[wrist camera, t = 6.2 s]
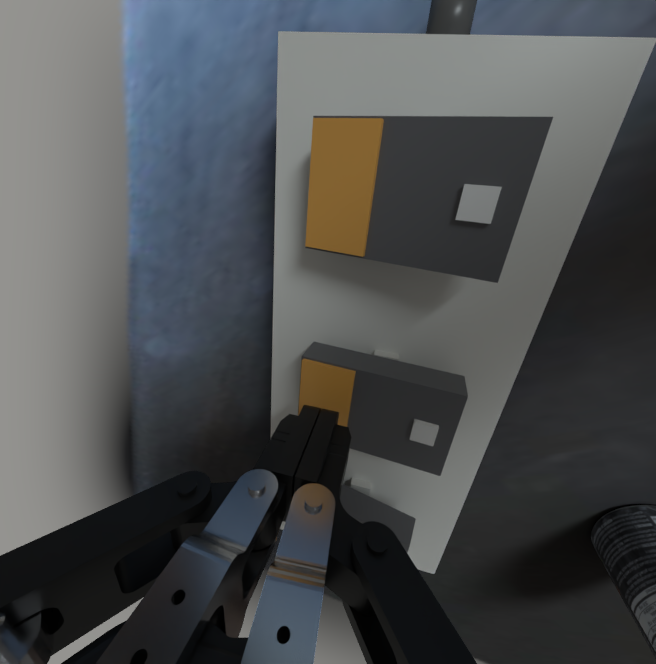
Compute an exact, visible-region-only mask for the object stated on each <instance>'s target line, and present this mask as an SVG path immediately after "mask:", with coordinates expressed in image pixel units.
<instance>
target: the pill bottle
mask: <svg viewBox="0 0 656 664" xmlns="http://www.w3.org/2000/svg"><path fill="white" fill-rule="evenodd" d="M591 541H592V543H593V546H594V548H595V550H596V552H597V554H598V555H599V557H600V559H601V561H602V563H603V564H604V566H605V568H606V570H607V572H608V574H609V576H610V577H611V579H612V581H613V583H614V585H615V586H616V588H617V590H618V592H619V593H620V595H621V597H622V599H623V601H624V603H625V604H626V606H627V608H628V610H629V612H630V613H631V615H632V617H633V619H634V620H635V622H636V624H637V626H638V628H639V629H640V631H641V633H642V635H643V637H644V638H645V640H646V642H647V644H648V645H649V647H650V649H651V651H652V653H653V654H654V656H655V658H656V506H654V505H634V506H628V507H623V508H620V509H616V510H614V511H611V512H609V513H607V514H606V515H604V516H603V517H602V518H600V519H599V520H598V521H597V522H596V524H595V525H594V527H593V529H592V531H591Z"/></svg>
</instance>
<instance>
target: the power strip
mask: <svg viewBox="0 0 656 664" xmlns="http://www.w3.org/2000/svg"><path fill="white" fill-rule="evenodd" d="M476 3H477V0H432V2H431V8H430V13H429V19H428V25H427V31H426V34H397V33H337V32H278V78H277V130H276V181H275V233H274V285H273V337H272V388H271V437H272V435H273V433H274V432H275V430H276V428H277V426H278V424H279V423H280V421H281V420H282V419H283V418H285V417H286V416H287V415H289V414H293V415H297V416H298V403H299V387H300V372H301V357H302V355H303V354H304V352H305V351H306V350H307V349H308V348H309V347H310V345H311V344H312V343H313V342H318V343H323V344H327V345H331V346H336V347H340V348H344V349H349V350H353V351H358V352H362V353H366V354H371V355H375V356H379V357H384V358H388V359H392V360H397V361H401V362H405V363H410V364H414V365H418V366H423V367H427V368H432V369H436V370H440V371H445V372H449V373H453V374H458V375H462V376H464V377H465V382H466V388H467V393H468V398H467V401H466V404H465V407H464V410H463V413H462V415H461V418H460V421H459V424H458V427H457V430H456V433H455V435H454V438H453V441H452V444H451V447H450V450H449V453H448V456H447V458H446V461H445V464H444V467H443V470H442V473H441V476H438V475H434V474H431V473H428V472H425V471H422V470H418V469H415V468H412V467H409V466H405V465H402V464H399V463H396V462H392V461H389V460H386V459H383V458H380V457H376V456H373V455H370V454H367V453H363V452H360V451H357V450H354V449H350V450H349V456H348V462H347V467H346V472H345V477H344V481H343V484H344V485H346V486H349V487H351V488H353V489H355V490H357V491H359V492H361V493H363V494H365V495H367V496H370V497H372V498H374V499H376V500H378V501H380V502H382V503H384V504H386V505H388V506H391V507H393V508H395V509H397V510H399V511H401V512H403V513H405V514H407V515H409V516H412V517H414V518H416V520H415V525H414V529H413V534H412V538H411V542H410V547H409V550H408V552H407V554H408V555H409V557H410V558H411V560H412V562H413V563H414V565H415V566H416V568H417V569H419V570H422V571H425V572H429V573H432V574H435V571H436V569H437V566H438V564H439V562H440V559H441V557H442V554H443V552H444V550H445V547H446V545H447V542H448V540H449V538H450V535H451V533H452V530H453V528H454V526H455V523H456V521H457V518H458V516H459V514H460V511H461V509H462V506H463V504H464V502H465V499H466V497H467V494H468V492H469V489H470V487H471V485H472V482H473V480H474V477H475V475H476V473H477V470H478V468H479V465H480V463H481V461H482V458H483V456H484V453H485V451H486V449H487V446H488V444H489V441H490V439H491V437H492V434H493V432H494V429H495V427H496V425H497V422H498V420H499V417H500V415H501V413H502V410H503V408H504V405H505V403H506V401H507V398H508V396H509V393H510V391H511V389H512V386H513V384H514V381H515V379H516V377H517V374H518V372H519V369H520V367H521V364H522V362H523V360H524V357H525V355H526V352H527V350H528V348H529V345H530V343H531V340H532V338H533V336H534V333H535V331H536V328H537V326H538V324H539V321H540V319H541V316H542V314H543V312H544V309H545V307H546V304H547V302H548V300H549V297H550V295H551V292H552V290H553V288H554V285H555V283H556V280H557V278H558V276H559V273H560V271H561V268H562V266H563V264H564V261H565V259H566V256H567V254H568V252H569V249H570V247H571V244H572V242H573V239H574V237H575V235H576V232H577V230H578V227H579V225H580V223H581V220H582V218H583V215H584V213H585V211H586V208H587V206H588V203H589V201H590V199H591V196H592V194H593V191H594V189H595V187H596V184H597V182H598V179H599V177H600V175H601V172H602V170H603V167H604V165H605V163H606V160H607V158H608V155H609V153H610V151H611V148H612V146H613V143H614V141H615V139H616V136H617V134H618V131H619V129H620V126H621V124H622V122H623V119H624V117H625V114H626V112H627V110H628V107H629V105H630V102H631V100H632V98H633V95H634V93H635V90H636V88H637V86H638V83H639V81H640V78H641V76H642V74H643V71H644V69H645V66H646V64H647V62H648V59H649V57H650V54H651V52H652V50H653V47H654V45H655V42H656V38H635V37H575V36H516V35H470V31H471V26H472V21H473V17H474V12H475V8H476ZM313 116H504V117H553V119H552V122H551V125H550V128H549V131H548V134H547V137H546V140H545V143H544V146H543V149H542V152H541V155H540V158H539V161H538V164H537V167H536V170H535V173H534V176H533V179H532V182H531V185H530V188H529V191H528V194H527V197H526V200H525V203H524V206H523V209H522V212H521V215H520V218H519V221H518V224H517V227H516V230H515V233H514V236H513V239H512V242H511V245H510V248H509V251H508V254H507V257H506V260H505V263H504V266H503V269H502V272H501V275H500V278H499V281H498V283H495V282H489V281H484V280H478V279H473V278H467V277H462V276H456V275H451V274H445V273H440V272H434V271H429V270H423V269H418V268H413V267H407V266H402V265H396V264H391V263H385V262H380V261H374V260H369V259H363V258H358V257H352V256H347V255H341V254H336V253H330V252H325V251H319V250H314V249H308V248H305V242H306V226H307V210H308V193H309V177H310V160H311V144H312V127H313ZM285 523H286V522H284V521H282V524H281V527H280V529H282V530H284V526H285Z"/></svg>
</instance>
